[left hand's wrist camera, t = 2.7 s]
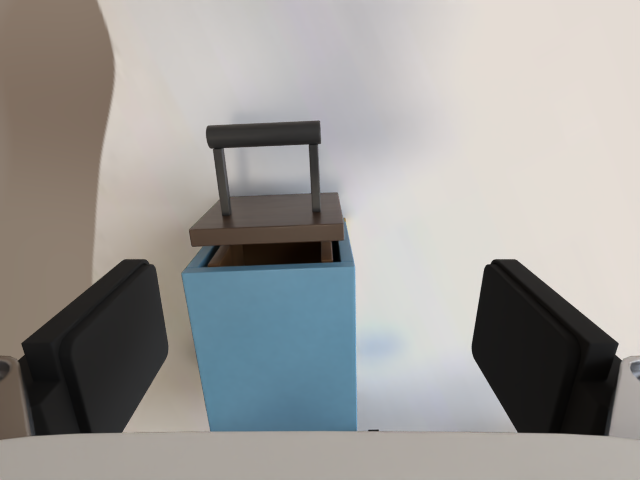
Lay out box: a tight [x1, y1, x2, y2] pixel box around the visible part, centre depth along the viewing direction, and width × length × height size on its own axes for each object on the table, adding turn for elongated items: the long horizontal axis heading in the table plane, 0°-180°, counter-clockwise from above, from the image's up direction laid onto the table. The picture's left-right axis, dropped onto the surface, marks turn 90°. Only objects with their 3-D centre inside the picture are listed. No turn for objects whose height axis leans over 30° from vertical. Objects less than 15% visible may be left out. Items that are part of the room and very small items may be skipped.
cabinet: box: [182, 218, 357, 432], centre depth 33 cm, size 19×11×11 cm, turn 2°
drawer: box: [189, 121, 344, 267], centre depth 30 cm, size 24×10×9 cm, turn 2°
